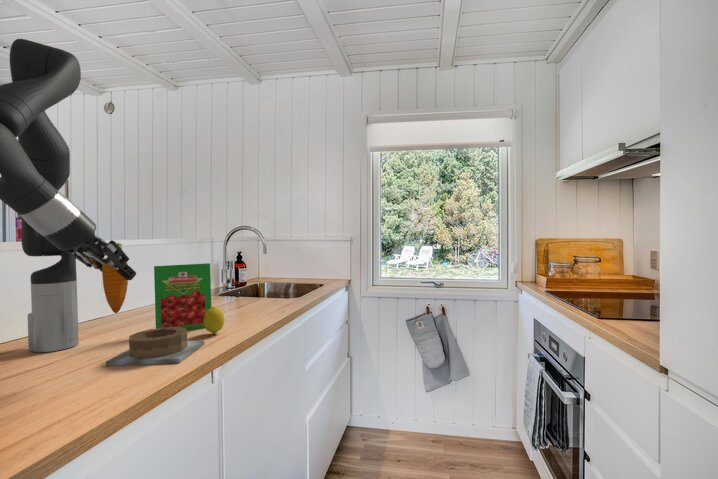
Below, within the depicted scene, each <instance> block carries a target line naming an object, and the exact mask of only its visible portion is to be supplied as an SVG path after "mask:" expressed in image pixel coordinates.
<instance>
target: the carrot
mask: <svg viewBox="0 0 718 479" xmlns="http://www.w3.org/2000/svg"><path fill="white" fill-rule="evenodd" d="M117 244H118V246H119V247H120V248H121V249H122V250H123V247H122V246H123V244H122V243H119V242H118V243H117ZM110 261H111V260H110ZM111 262H112V261H111ZM112 263H113V262H112ZM126 264H127V265H128V262H127V263H126ZM101 275H102V285H103V286H102V287H103V291H104V294H105V299H106V302H107V304H108V305H109V307H110V309H111V310H112V312H113V313H114V314H118V313H119V311H120V310H121V308H122V306H123V304H124V302H125V300H126V296H127V291H128V284H129V280H126V279H125V278H124V277H123V276H122V275H121V274H119V273H118V272H117V271H116V270H115V269H113V268H112V267H110V266H109V265H107V264H106V265H102V273H101Z"/></svg>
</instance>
